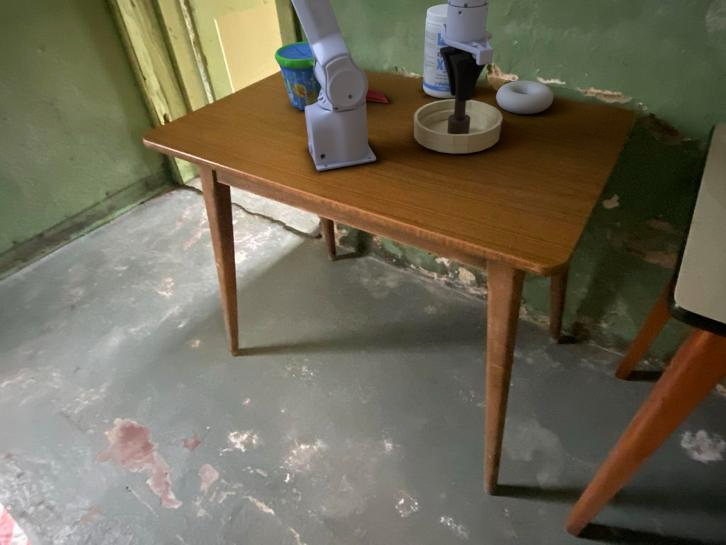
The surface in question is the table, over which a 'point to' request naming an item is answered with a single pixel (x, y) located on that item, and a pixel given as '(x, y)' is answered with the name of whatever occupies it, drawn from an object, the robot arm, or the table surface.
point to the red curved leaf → (375, 96)
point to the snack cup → (299, 74)
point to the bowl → (435, 136)
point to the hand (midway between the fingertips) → (460, 97)
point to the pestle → (459, 119)
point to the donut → (524, 97)
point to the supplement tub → (435, 54)
